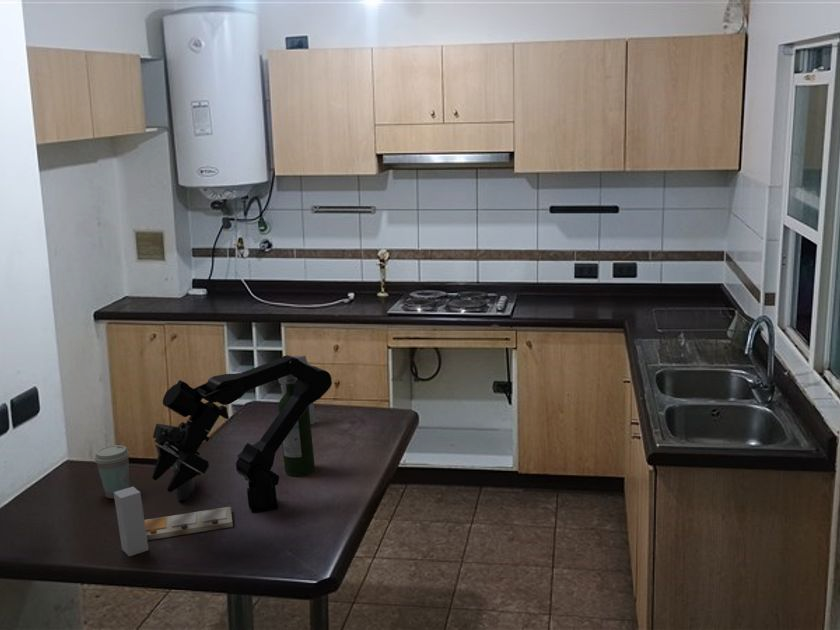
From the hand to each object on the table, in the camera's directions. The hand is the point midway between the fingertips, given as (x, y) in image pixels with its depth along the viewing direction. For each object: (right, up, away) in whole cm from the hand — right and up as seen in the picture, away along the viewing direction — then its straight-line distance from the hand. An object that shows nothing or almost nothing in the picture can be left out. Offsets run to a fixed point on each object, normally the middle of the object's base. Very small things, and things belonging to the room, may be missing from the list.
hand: (161, 485), depth 223 cm
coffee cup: (-19, -8, +30) cm, 36 cm away
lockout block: (-5, -14, -2) cm, 15 cm away
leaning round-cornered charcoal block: (-3, -7, +30) cm, 31 cm away
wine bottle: (+27, -3, +37) cm, 46 cm away
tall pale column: (+23, +5, +71) cm, 75 cm away
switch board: (+3, -11, +8) cm, 14 cm away
